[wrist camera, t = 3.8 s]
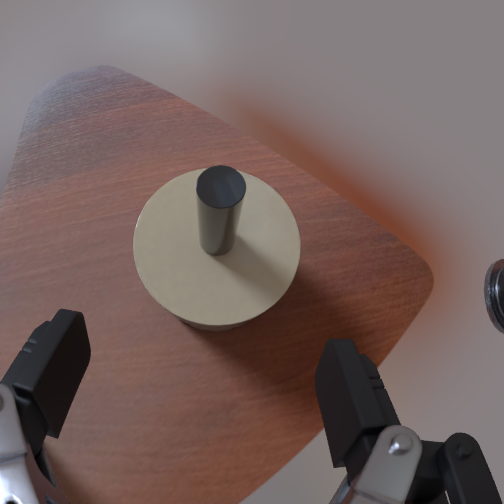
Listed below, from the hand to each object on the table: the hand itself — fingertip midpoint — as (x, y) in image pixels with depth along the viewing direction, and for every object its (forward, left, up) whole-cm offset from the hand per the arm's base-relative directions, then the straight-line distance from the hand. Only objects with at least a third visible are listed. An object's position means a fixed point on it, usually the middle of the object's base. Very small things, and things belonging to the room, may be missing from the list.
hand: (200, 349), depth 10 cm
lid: (+7, -5, -12) cm, 15 cm away
